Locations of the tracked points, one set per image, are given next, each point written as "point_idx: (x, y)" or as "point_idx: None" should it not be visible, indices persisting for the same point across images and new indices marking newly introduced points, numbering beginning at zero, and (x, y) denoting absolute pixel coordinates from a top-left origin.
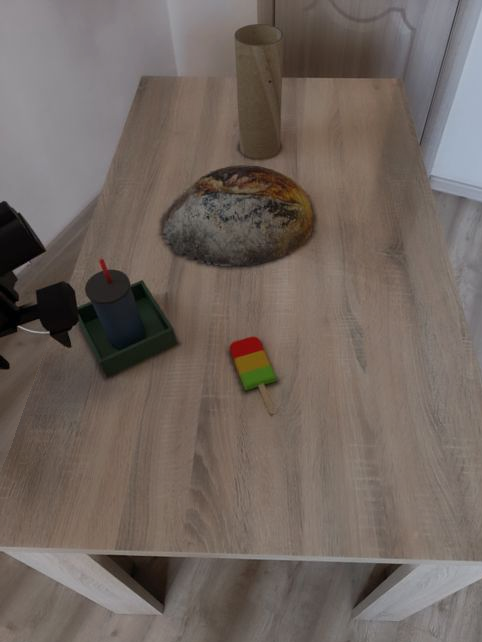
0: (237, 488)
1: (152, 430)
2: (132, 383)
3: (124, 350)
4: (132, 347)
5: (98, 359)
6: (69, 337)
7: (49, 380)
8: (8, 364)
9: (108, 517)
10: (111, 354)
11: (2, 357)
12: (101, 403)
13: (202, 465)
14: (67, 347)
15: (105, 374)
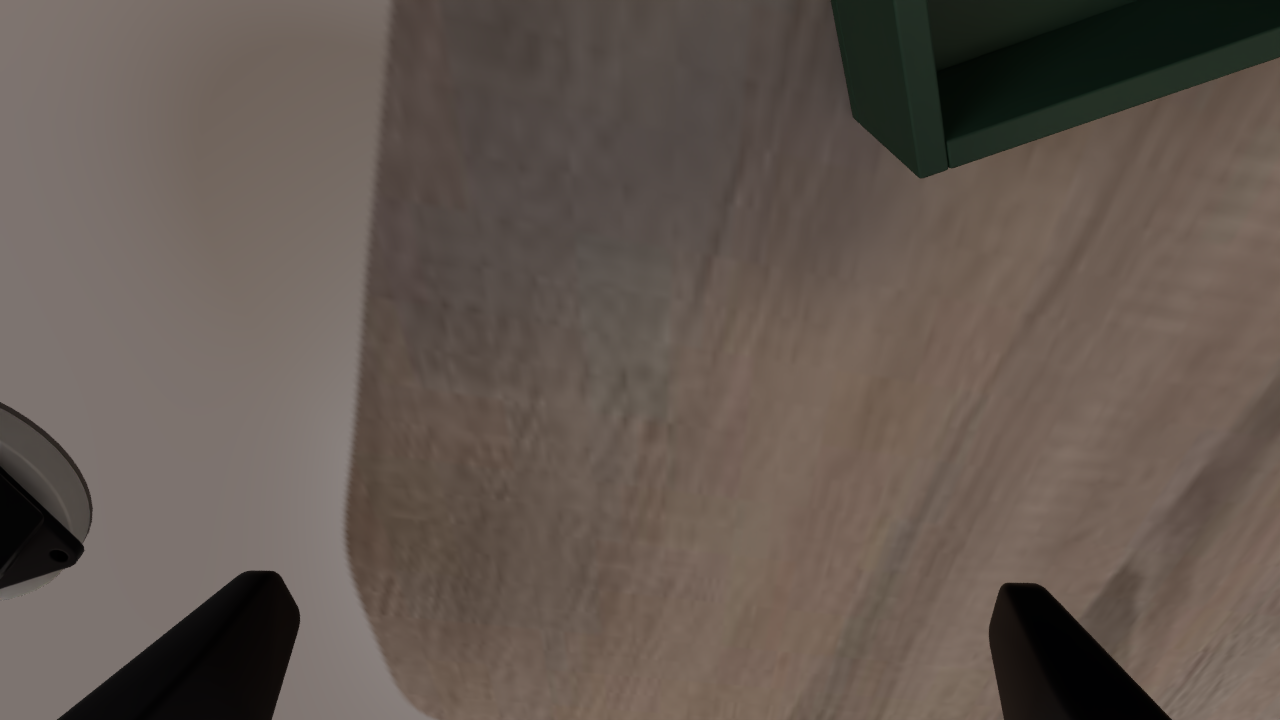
0: (1193, 672)
1: (1001, 464)
2: (996, 194)
3: (1150, 90)
4: (1225, 73)
5: (922, 141)
6: (1098, 653)
7: (456, 56)
8: (277, 610)
9: (755, 699)
10: (1037, 113)
11: (202, 684)
12: (791, 292)
13: (1127, 604)
14: (999, 685)
15: (867, 129)
